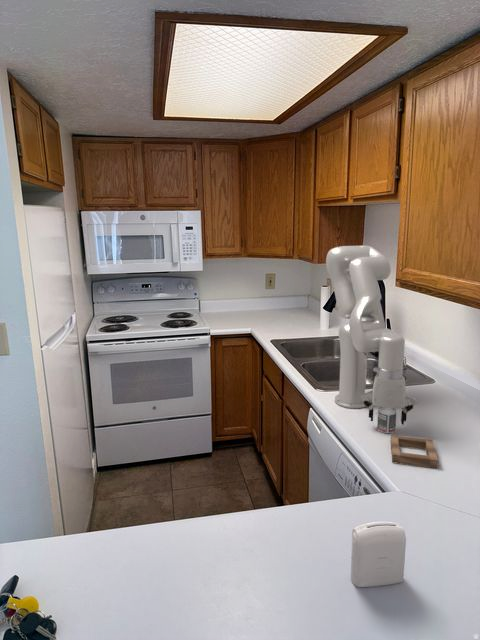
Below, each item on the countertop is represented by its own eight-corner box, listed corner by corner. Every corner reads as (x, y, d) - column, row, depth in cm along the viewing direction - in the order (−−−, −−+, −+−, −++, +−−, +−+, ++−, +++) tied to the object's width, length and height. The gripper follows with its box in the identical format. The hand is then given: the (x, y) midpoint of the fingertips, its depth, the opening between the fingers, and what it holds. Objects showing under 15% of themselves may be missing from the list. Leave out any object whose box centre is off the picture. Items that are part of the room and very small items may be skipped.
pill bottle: (392, 426, 145) (394, 399, 143) (397, 434, 140) (399, 406, 137) (375, 425, 146) (377, 398, 143) (379, 433, 140) (380, 405, 138)
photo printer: (354, 590, 82) (357, 534, 79) (347, 572, 86) (349, 519, 83) (406, 585, 83) (411, 530, 80) (396, 567, 87) (400, 514, 84)
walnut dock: (390, 442, 135) (390, 434, 134) (431, 447, 132) (432, 439, 131) (392, 462, 124) (392, 454, 123) (437, 468, 120) (438, 460, 120)
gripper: (362, 374, 137) (359, 423, 141) (420, 378, 132) (416, 429, 136) (362, 366, 144) (360, 413, 148) (417, 370, 139) (413, 419, 143)
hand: (386, 421), depth 142 cm, fingers open, 9 cm apart
